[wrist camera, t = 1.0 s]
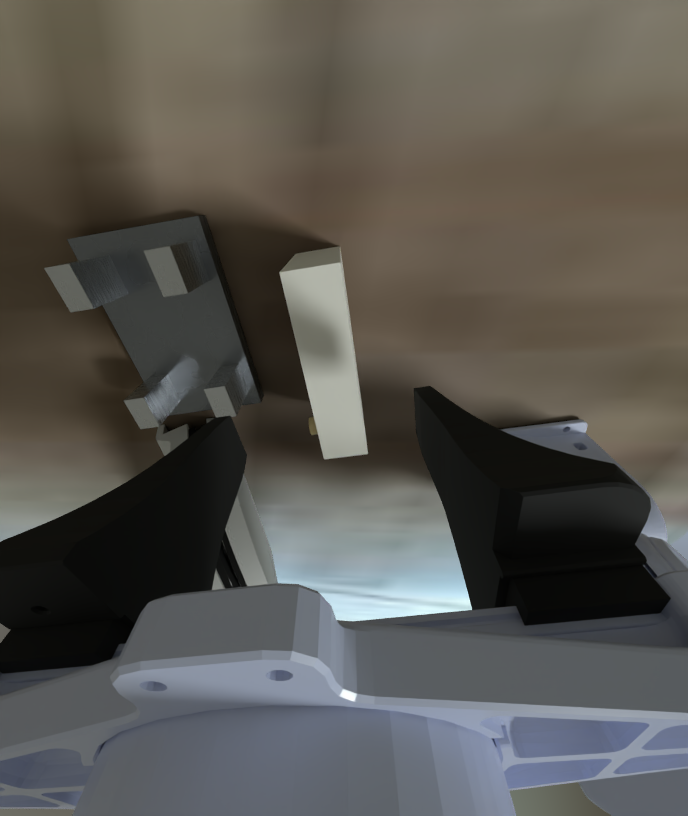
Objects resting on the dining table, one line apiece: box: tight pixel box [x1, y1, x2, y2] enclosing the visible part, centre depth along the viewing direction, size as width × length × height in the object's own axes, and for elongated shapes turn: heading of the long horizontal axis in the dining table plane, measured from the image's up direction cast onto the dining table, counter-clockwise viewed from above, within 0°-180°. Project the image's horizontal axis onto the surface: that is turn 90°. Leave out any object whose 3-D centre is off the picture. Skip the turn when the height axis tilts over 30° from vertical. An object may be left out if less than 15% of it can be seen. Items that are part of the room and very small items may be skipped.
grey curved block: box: [156, 418, 278, 590], centre depth 25 cm, size 17×5×10 cm, turn 6°
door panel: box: [279, 246, 368, 459], centre depth 18 cm, size 3×10×6 cm, turn 9°
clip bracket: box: [44, 215, 264, 429], centre depth 18 cm, size 7×11×4 cm, turn 8°
